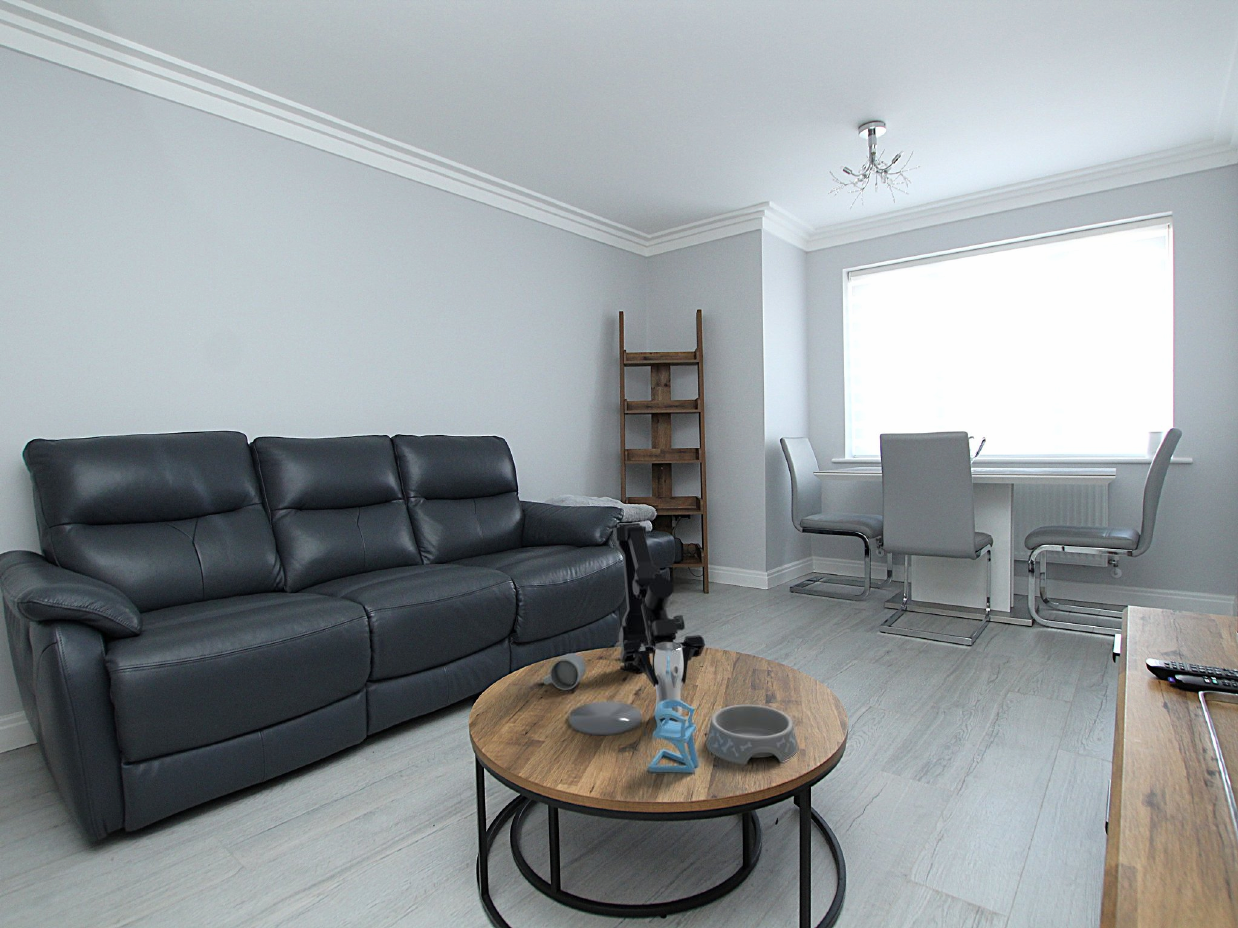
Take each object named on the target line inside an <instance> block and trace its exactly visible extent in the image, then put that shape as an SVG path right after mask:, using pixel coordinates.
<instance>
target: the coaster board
mask: <svg viewBox="0 0 1238 928" xmlns="http://www.w3.org/2000/svg"><path fill="white" fill-rule="evenodd" d="M568 723H569V726H570V727H571V728H572V729H573V730H575V731H577V732H580V733H583V734H587V735H591V736H592V735H594V736H612V735H620V734H623V733H628V732H630V731H632V730H634V729H636V728H637V727H638V726H640V725H641V723H642V712H641V710H640V709H639V708H638V707H636V706H635V705H632V704H629V703H625V702H620V701H609V700H608V701H606V700H605V701H595V702H590V703H585V704H582V705H580V706H578V707H576V708H574V709H573V710H572V711H570V713H569V715H568Z"/></svg>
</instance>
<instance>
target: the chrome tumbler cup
mask: <svg viewBox="0 0 1238 928" xmlns="http://www.w3.org/2000/svg"><path fill="white" fill-rule="evenodd" d="M651 660H652V661H651V665H652V669H653V673H654V676H655V681H656V686H655V693H656V702H655V708H654V709H655V710H656V708H657V706H658V704H659V703H660V702H662V701H665V700H678V701H682V700H681V692H682V685H683V682H682V681H683V673H684V658H683V646H682V645H681V644H679V642H675V641H674V642H659V643H656V644H654V645H653V654H652V658H651ZM669 709H670V710H673V711H675V712H676V713H678V714H679V715H680V716H682V714H683V708H682V707H679V706H675V707H672V708H669ZM655 710H654V711H655Z"/></svg>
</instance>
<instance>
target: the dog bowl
mask: <svg viewBox="0 0 1238 928" xmlns="http://www.w3.org/2000/svg"><path fill="white" fill-rule="evenodd" d="M709 723H710V724H709V728H708V732H707V735H706V740H705V746H706V748H707V749H708V751H709V752H710V753H711V754H713V755H714V756H716V757H718V758H720V759H722V760H724V761H728V762H730V763H731V762H732V763H734V764H738V765H739V764H740V765H747V764H748V761H749V760H750V758H757V759H758V758H767V757H771V756H775V757H776V758H777V759H778V761H779V762H780V763H781V762H783V761H785V760H787V759H790V758H791V757H793V756H794V755H795V754H796V753H797V754H798V752H799V750H798V748H799V747H800V746H799V742H798V739H797V735H796V731H795V727H794V722H793V719H791V717H790V716H788V715H787V714H786V713H785V712H783V711H780V710H778V709H775V708H773V707H769V706H765V705H759V704H758V705H756V704H738V705H737V704H736V705H731V706H726V707H723V708H721V709H719V710H717V711H716V712H715V713H713V715H712V716H711V719H710V722H709ZM799 749H800V748H799ZM797 751H798V752H797ZM797 754H796V755H797ZM796 755H795V756H796ZM795 756H794V757H795ZM794 757H793V758H794ZM791 759H792V758H791ZM791 759H790V760H791ZM785 762H786V761H785ZM783 763H784V762H783Z"/></svg>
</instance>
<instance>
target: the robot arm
mask: <svg viewBox="0 0 1238 928" xmlns="http://www.w3.org/2000/svg"><path fill="white" fill-rule="evenodd" d="M612 530H613V531H612V536H613V537H612V538H613V541H614V542H615V547H616V549H617V550H618V552H619V554H620V555H621V556H622V563H623V564H622V565H623V574H624V586H625V587H624V588H625V600H626V601H625V602H626V611H625V613H624V615H623V618H622V620H621V621H622V622H621V624H622V625H621V626H620V629H619V634H618V645H619V646H620V648H621V649H620V660H621V663H622V664H623V665H621V666H619V667H620V669H621V670H624V671H628V672H632V673H635V674H640V673H642V672H643V673H644V676H646V678H647V679H648V681H649V682H650V684H651V685H652V686H653V687H655V686H656V681H655V676H654V673H653V669H652V661H651V656H650V654H651V655H653V645H654V644H656V643H659V642H675V641H674V640H676V638H677V635H676V634H678V633H679V631H684V630H685V627H686V626H685V620H684V617H683V615H682V614H679V615H674V616H673V618H669V616H668V612H667V611H668V610H667V608H669V606H670V602H671V599H672V597H673V593H674V584H673V583H672V581H670V580H669V579H668V578H666V577H664V575H663V573H662V572H661V569H660V568H659V567H657V566H656V565H654V563H653V560H652V557H651V552H650V548H649V545H648V542H647V539H648V537H647V536H648V535H647V526H646V525H645V526H644V525H641V523H639V522H632V523H630V522H629V523H617V525H616V527H613V529H612ZM643 599H644V600H643ZM678 643H679V644H681V645H682V646H683V658H684V673H683V681H682V685H684V684H686V682H687V674H688V664H689V661H691V660H692V658H698V657H700V656H701V655H702V653H703V651H704V649H705V646H706V642H705V640H704V638H703V636H702V635H700V634H697V635H696V634H694V635H685V637H684V640H683V641H682V642H678Z"/></svg>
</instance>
